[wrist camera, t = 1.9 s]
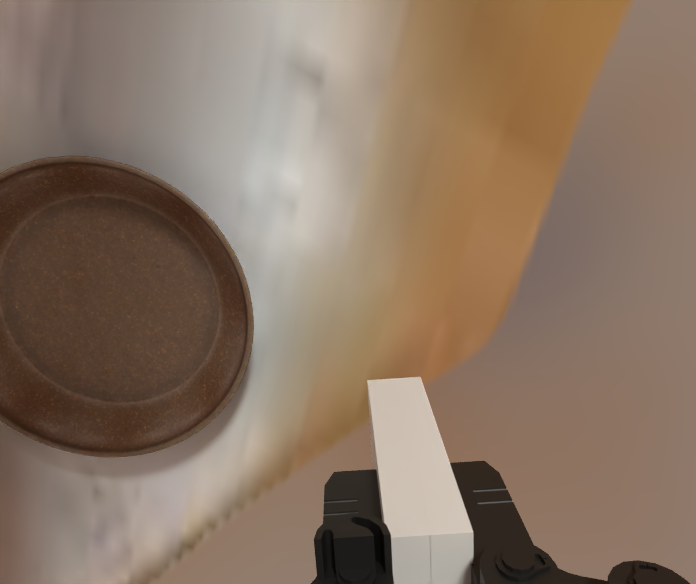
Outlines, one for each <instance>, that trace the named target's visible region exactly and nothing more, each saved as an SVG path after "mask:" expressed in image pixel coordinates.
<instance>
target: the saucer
mask: <svg viewBox="0 0 696 584" xmlns="http://www.w3.org/2000/svg"><path fill="white" fill-rule="evenodd" d="M253 330H254V322H253V309H252V302H251V297H250V292H249V288H248V285H247V281H246V278H245V275H244V273H243V270H242V267H241V265H240V263H239V261H238V259H237V257H236V255H235V253H234V251H233V249H232V248H231V246H230V244H229V242H228V241H227V240H226V238H225V236H224V235H223V234H222V232H221V231H220V230H219V228H218V227H217V226H216V224H215V223H214V222H213V221H212V220H211V219H210V218H209V216H208V215H207V214H206V213H205V212H204V211H203V210H202V209H201V208H200V207H198V206H197V205H196V204H195V203H194V202H193V201H192V200H191V199H189V198H188V197H187V196H185V195H184V194H183V193H181V192H180V191H179V190H177V189H175V188H174V187H172V186H171V185H169V184H167V183H166V182H164V181H162V180H160V179H159V178H157V177H155V176H153V175H150V174H148V173H146V172H144V171H142V170H140V169H137V168H134V167H132V166H129V165H126V164H122V163H119V162H115V161H111V160H105V159H100V158H94V157H87V156H62V157H50V158H44V159H38V160H34V161H31V162H27V163H24V164H21V165H18V166H15V167H12V168H10V169H7V170H6V171H4V172H2V173H0V420H2V421H3V422H5V423H6V424H7V425H9V426H10V427H12V428H13V429H15V430H17V431H19V432H20V433H22V434H24V435H26V436H27V437H30V438H32V439H34V440H36V441H38V442H40V443H43V444H46V445H48V446H51V447H54V448H58V449H61V450H64V451H69V452H72V453H77V454H82V455H89V456H97V457H127V456H135V455H141V454H146V453H151V452H155V451H158V450H161V449H164V448H167V447H170V446H172V445H174V444H177V443H179V442H181V441H183V440H185V439H187V438H188V437H190V436H192V435H193V434H195V433H197V432H198V431H199V430H201V429H202V428H204V427H205V426H206V425H207V424H208V423H210V422H211V421H212V420H213V419H214V418H215V417H216V416H217V415H218V414H219V413H220V412H221V411H222V409H223V408H224V407H225V406H226V405H227V403H228V402H229V401H230V399H231V398H232V396H233V394H234V393H235V391H236V390H237V388H238V386H239V384H240V382H241V380H242V377H243V375H244V373H245V370H246V367H247V364H248V361H249V357H250V354H251V349H252V342H253Z"/></svg>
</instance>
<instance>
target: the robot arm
mask: <svg viewBox="0 0 696 584" xmlns="http://www.w3.org/2000/svg"><path fill="white" fill-rule="evenodd" d="M367 381H368V399H369V416H370V434H371V449H372V466H373V470H358V471H342V472H334V473H333V474H332V476H331V477H330V479H329V480H328V482H327V483H326V484H325V491H324V518H323V524H322V525H321V526H320V528H318V530H317V532H316V535H315V538H314V545H315V556H316V568H317V577H316V579H315V580H314V581H313V582H312V583H311V584H690V583H689V582H688V581H686V580H685V579H684V578H682V577H681V576H679V575H678V574H677V573H675V572H673V571H672V570H670V569H668V568H665V567H663V566H660V565H658V564H655V563H650V562H644V561H628V562H623V563H621V564H619V565H617V566H615V567H613V569H612V570H611V572H610V574H609V576H608V581H604V580H598V579H593V578H588V577H581V576H578V575H574V574H570V573H567V572H565V571H563V570H560V569H558V568H557V565H556V564H555V562H554V561H553V560H552V559H551V557H550V556H549V555H548V554H547V553H546V552H544V551H543V550H541V549H540V548H538V547H536V546H534V545H533V543H532V540H531V538H530V536H529V534H528V532H527V530H526V528H525V526H524V524H523V522H522V519H521V517H520V515H519V513H518V511H517V509H516V507H515V505H514V503H513V502H512V499H511V497H510V494H509V492H508V490H506V486H505V484H504V482H503V480H502V478H501V476H500V473H499V472H498V471H496V470H495V469H494V468H493V467H491V466H490V465H489V464H488V463H486V462H485V461H474V462H460V463H459V462H458V463H450V462H449V459H448V456H447V453H446V451H445V448H444V445H443V442H442V439H441V436H440V433H439V430H438V427H437V424H436V422H435V418H434V416H433V412H432V410H431V407H430V404H429V401H428V398H427V395H426V392H425V389H424V386H423V383H422V380H421V377H411V378H395V379H380V380H367Z"/></svg>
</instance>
